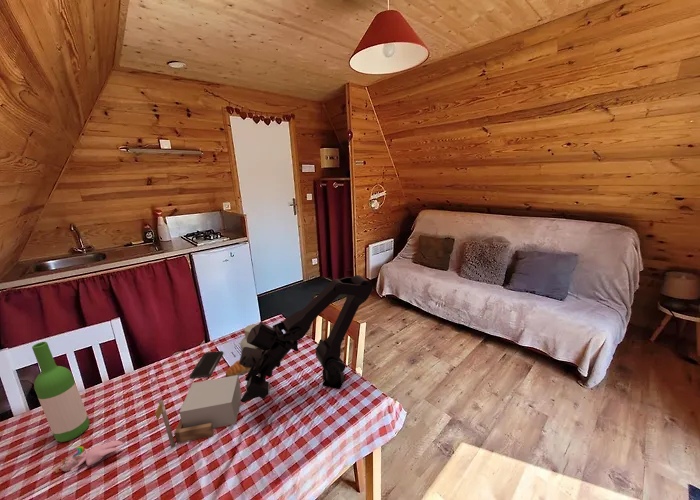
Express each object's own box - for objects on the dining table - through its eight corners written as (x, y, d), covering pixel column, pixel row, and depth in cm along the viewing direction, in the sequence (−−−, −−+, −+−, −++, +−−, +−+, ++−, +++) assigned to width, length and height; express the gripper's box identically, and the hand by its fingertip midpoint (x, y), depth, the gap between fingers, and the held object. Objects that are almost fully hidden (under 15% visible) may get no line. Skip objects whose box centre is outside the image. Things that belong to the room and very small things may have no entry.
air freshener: (251, 358, 118) (248, 336, 115) (237, 353, 122) (233, 331, 119) (271, 344, 127) (268, 323, 124) (258, 339, 131) (254, 319, 128)
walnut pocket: (225, 392, 100) (217, 354, 96) (209, 448, 80) (198, 403, 76) (191, 398, 99) (182, 360, 94) (166, 457, 78) (153, 411, 74)
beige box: (241, 395, 99) (238, 374, 97) (235, 424, 88) (231, 402, 86) (197, 403, 97) (192, 382, 94) (185, 434, 85) (179, 412, 83)
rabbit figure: (55, 484, 75) (118, 461, 77) (42, 467, 73) (108, 444, 75) (71, 461, 81) (130, 440, 83) (60, 445, 79) (120, 424, 81)
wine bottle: (63, 427, 90) (28, 341, 82) (94, 417, 93) (64, 333, 85) (50, 448, 83) (11, 356, 75) (84, 437, 86) (50, 347, 78)
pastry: (230, 382, 106) (228, 372, 105) (223, 373, 111) (221, 364, 110) (255, 369, 112) (253, 360, 111) (247, 361, 117) (245, 353, 116)
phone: (223, 350, 123) (210, 375, 108) (224, 353, 123) (210, 377, 109) (204, 352, 122) (188, 377, 108) (205, 355, 123) (188, 379, 108)
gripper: (256, 325, 97) (227, 360, 98) (249, 359, 79) (213, 401, 81) (283, 341, 101) (255, 375, 102) (282, 378, 83) (248, 418, 84)
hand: (244, 390), depth 92 cm, fingers open, 9 cm apart
